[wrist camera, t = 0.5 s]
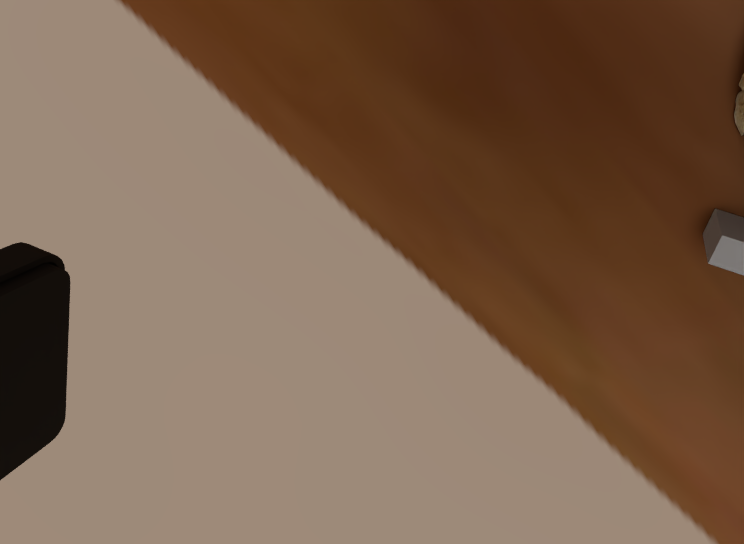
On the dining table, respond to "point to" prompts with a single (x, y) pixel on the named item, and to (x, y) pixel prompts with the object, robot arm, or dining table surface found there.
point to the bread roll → (740, 108)
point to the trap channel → (725, 241)
